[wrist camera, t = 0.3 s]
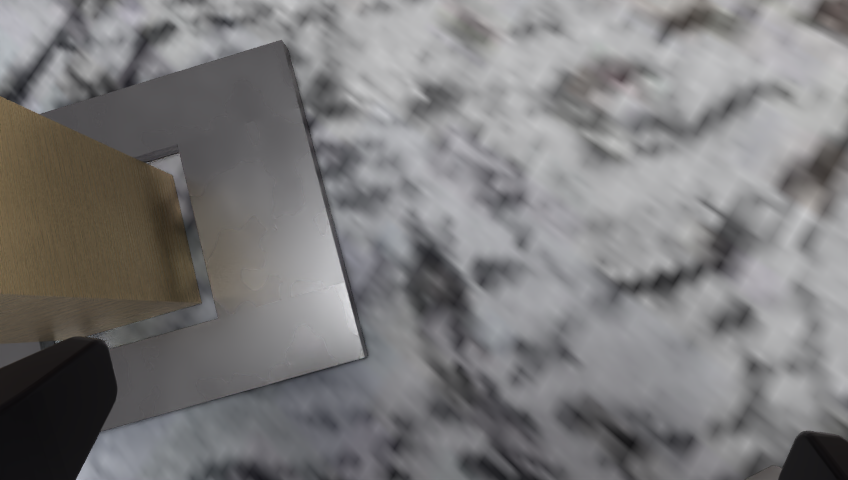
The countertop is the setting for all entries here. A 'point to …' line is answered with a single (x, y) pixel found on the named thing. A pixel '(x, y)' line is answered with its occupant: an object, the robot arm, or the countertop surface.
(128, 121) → the grey plate with hole
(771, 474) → the lighter
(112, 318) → the tan square peg
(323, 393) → the countertop surface
